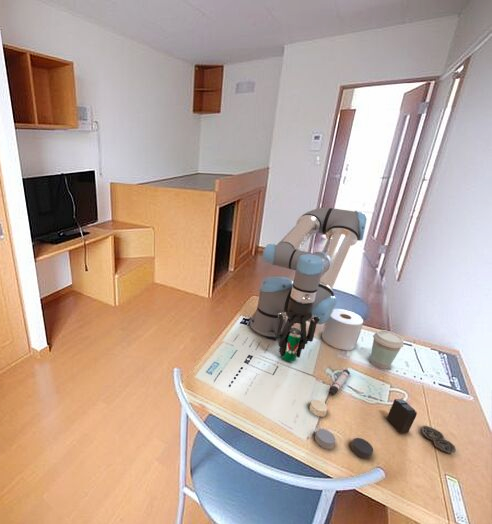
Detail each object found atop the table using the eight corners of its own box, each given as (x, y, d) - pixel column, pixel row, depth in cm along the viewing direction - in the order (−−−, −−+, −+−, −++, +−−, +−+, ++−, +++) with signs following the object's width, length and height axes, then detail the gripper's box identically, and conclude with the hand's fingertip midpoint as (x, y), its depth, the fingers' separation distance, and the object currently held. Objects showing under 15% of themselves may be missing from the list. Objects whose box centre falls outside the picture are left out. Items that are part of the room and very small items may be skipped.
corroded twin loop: (442, 455, 79) (443, 452, 78) (414, 428, 86) (416, 425, 86) (460, 454, 79) (462, 452, 78) (431, 427, 86) (433, 425, 86)
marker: (342, 373, 107) (344, 368, 106) (349, 376, 105) (350, 371, 104) (326, 395, 97) (327, 390, 96) (333, 399, 96) (334, 394, 95)
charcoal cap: (347, 449, 80) (350, 443, 79) (354, 440, 83) (357, 434, 82) (366, 462, 77) (369, 456, 76) (373, 453, 79) (376, 447, 79)
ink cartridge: (408, 433, 85) (418, 412, 82) (400, 434, 85) (410, 412, 81) (393, 418, 89) (402, 398, 86) (386, 418, 89) (395, 398, 86)
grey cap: (311, 439, 83) (313, 434, 82) (319, 431, 85) (321, 425, 84) (328, 452, 79) (330, 446, 79) (336, 443, 82) (338, 437, 81)
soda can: (295, 355, 115) (301, 328, 110) (296, 363, 110) (303, 336, 106) (280, 352, 116) (286, 325, 112) (281, 360, 112) (287, 333, 107)
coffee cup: (384, 356, 115) (394, 329, 110) (399, 372, 107) (411, 344, 102) (360, 354, 116) (369, 328, 111) (374, 370, 108) (384, 342, 103)
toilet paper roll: (357, 339, 124) (365, 315, 120) (353, 354, 116) (361, 328, 111) (324, 328, 131) (331, 305, 127) (318, 341, 123) (325, 317, 119)
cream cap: (306, 409, 92) (308, 403, 91) (313, 402, 95) (315, 397, 94) (321, 419, 89) (323, 413, 88) (328, 412, 91) (330, 406, 90)
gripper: (277, 302, 102) (265, 358, 110) (335, 306, 99) (319, 363, 108) (271, 292, 109) (261, 345, 117) (325, 296, 106) (311, 350, 115)
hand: (289, 354), depth 113 cm, fingers closed on soda can, 5 cm apart
